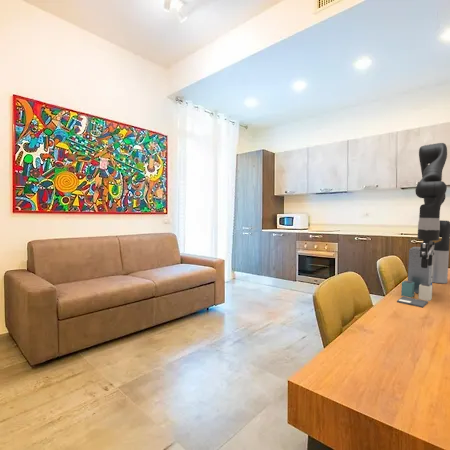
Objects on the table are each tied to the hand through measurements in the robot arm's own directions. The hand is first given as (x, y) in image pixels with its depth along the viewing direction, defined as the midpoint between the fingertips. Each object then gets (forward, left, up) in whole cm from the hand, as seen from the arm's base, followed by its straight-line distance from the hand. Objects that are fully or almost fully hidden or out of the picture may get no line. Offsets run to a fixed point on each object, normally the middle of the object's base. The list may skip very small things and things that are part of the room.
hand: (426, 266), depth 122 cm
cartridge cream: (0, 0, -14) cm, 14 cm away
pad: (+10, -2, -14) cm, 17 cm away
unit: (-11, -4, -14) cm, 18 cm away
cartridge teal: (0, -6, -14) cm, 15 cm away
